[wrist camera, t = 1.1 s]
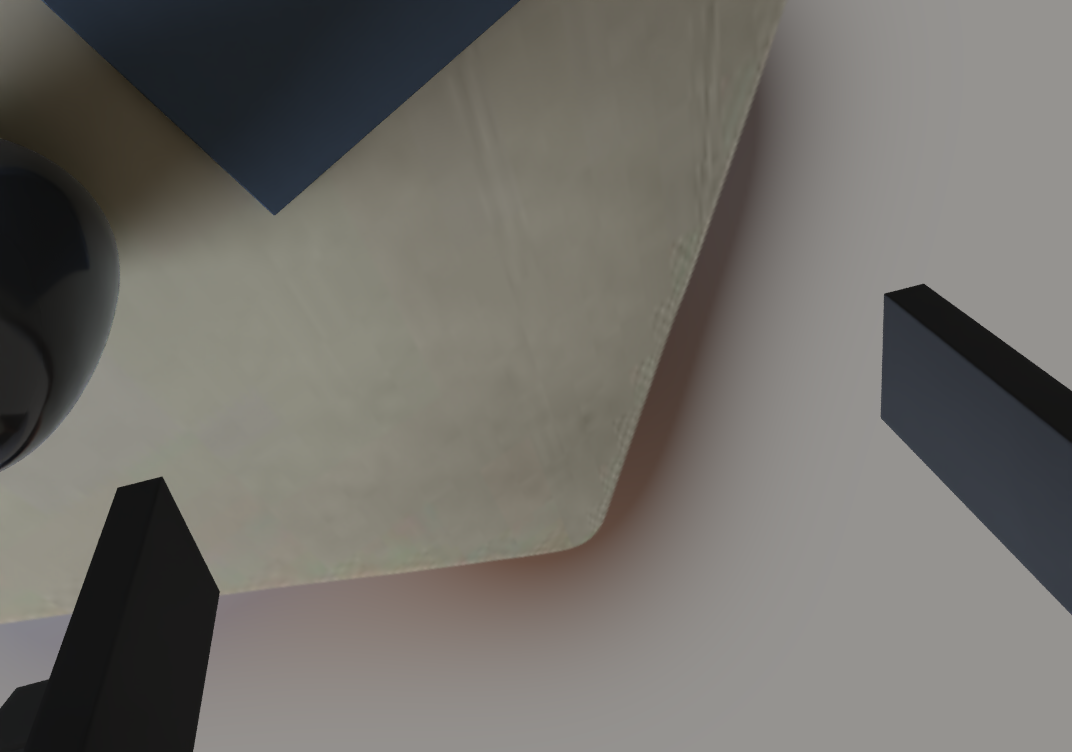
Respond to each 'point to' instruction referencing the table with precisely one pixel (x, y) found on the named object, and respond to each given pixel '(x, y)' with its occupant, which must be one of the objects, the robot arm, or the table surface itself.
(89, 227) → the black rounded piece
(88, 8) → the desk mat
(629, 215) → the table surface
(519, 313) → the table surface
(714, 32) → the table surface
